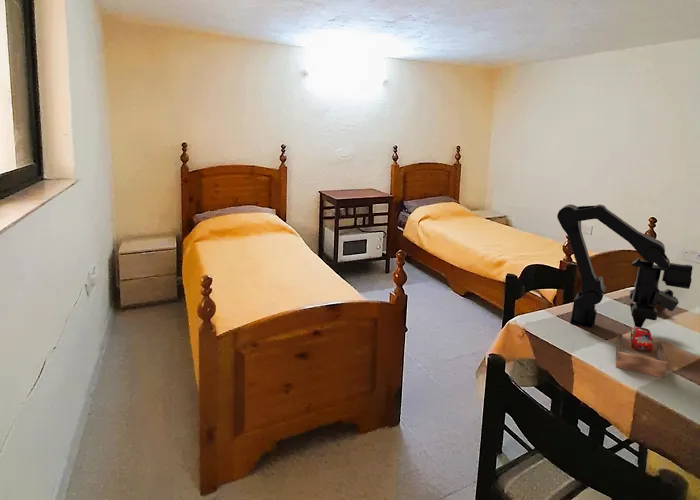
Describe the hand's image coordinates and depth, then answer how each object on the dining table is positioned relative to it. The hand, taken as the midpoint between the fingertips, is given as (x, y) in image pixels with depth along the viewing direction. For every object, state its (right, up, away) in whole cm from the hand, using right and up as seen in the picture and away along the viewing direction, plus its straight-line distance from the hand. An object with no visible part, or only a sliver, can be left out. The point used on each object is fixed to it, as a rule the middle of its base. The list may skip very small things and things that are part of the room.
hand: (637, 329), depth 143 cm
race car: (-3, -3, -6) cm, 7 cm away
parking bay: (-9, -5, -14) cm, 18 cm away
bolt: (+19, +4, +23) cm, 30 cm away
